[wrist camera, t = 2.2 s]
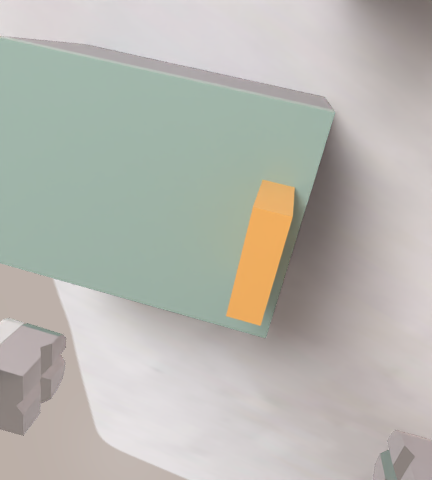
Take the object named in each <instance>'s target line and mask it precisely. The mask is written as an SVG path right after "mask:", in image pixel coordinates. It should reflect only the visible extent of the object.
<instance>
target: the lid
mask: <svg viewBox="0 0 432 480" xmlns="http://www.w3.org/2000/svg"><path fill="white" fill-rule="evenodd" d="M334 115H335V111H334V110H332V109H328V108H323V107H319V106H314V105H310V104H305V103H301V102H296V101H292V100H287V99H283V98H278V97H274V96H269V95H265V94H260V93H256V92H252V91H247V90H243V89H238V88H234V87H229V86H225V85H220V84H216V83H211V82H207V81H202V80H198V79H193V78H189V77H184V76H180V75H175V74H171V73H166V72H162V71H157V70H153V69H148V68H144V67H139V66H135V65H130V64H126V63H121V62H117V61H112V60H108V59H103V58H99V57H94V56H90V55H85V54H81V53H76V52H72V51H68V50H63V49H59V48H54V47H50V46H45V45H41V44H36V43H32V42H27V41H23V40H18V39H14V38H9V37H5V36H0V263H2V264H5V265H8V266H12V267H15V268H19V269H22V270H26V271H29V272H33V273H37V274H40V275H44V276H47V277H51V278H54V279H58V280H61V281H65V282H68V283H72V284H75V285H79V286H82V287H86V288H89V289H93V290H96V291H100V292H104V293H107V294H111V295H114V296H118V297H121V298H125V299H128V300H132V301H135V302H139V303H142V304H146V305H149V306H153V307H156V308H160V309H163V310H167V311H171V312H174V313H178V314H181V315H185V316H188V317H192V318H195V319H199V320H202V321H206V322H209V323H213V324H216V325H220V326H223V327H227V328H231V329H234V330H238V331H241V332H245V333H248V334H252V335H255V336H259V337H262V338H266V336H267V333H268V330H269V326H270V323H271V320H272V317H273V313H274V310H275V307H276V304H277V300H278V297H279V294H280V291H281V287H282V284H283V281H284V278H285V274H286V271H287V268H288V265H289V261H290V258H291V255H292V252H293V248H294V245H295V242H296V239H297V235H298V232H299V229H300V226H301V222H302V219H303V216H304V213H305V209H306V206H307V203H308V200H309V196H310V193H311V190H312V187H313V183H314V180H315V177H316V174H317V170H318V167H319V164H320V161H321V157H322V154H323V151H324V148H325V144H326V141H327V138H328V135H329V131H330V128H331V125H332V122H333V118H334Z"/></svg>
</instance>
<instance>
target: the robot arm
mask: <svg viewBox="0 0 432 480" xmlns="http://www.w3.org/2000/svg"><path fill="white" fill-rule="evenodd" d="M65 348H66V337H65V336H64V335H63V334H60V333H57V332H54V331H50V330H47V329H44V328H41V327H37V326H35V325H31V324H28V323H27V324H26V323H23V322H20V321H17V320H14V319H11V318H7V319H4V320H2V321H1V322H0V429H2V430H5V431H8V432H12V433H16V434H19V435H23V436H24V434H25V433H26V431H27V430H28V429H29V427H30V426H31V425H32V423H33V422H34V421H35V419H36V418H37V417H38V416H39V414H40V404H41V403H43V402H45V401H48V400H50V399H51V398H52V396H53V395H54V393H55V392H56V391H57V389H58V387H59V385H60V383H61V381H62V379H63V375H64V370H65V360H64V359H63V357H62V355H61V353H62V352H63V350H64V349H65ZM387 442H388V447H389V450H387V451H385V452H383V453H381V454H380V455H379V457H378V459H377V461H376V463H375V468H374V474H373V480H432V440H431V439H427V438H424V437H420V436H417V435H413V434H409V433H406V432H402V431H399V430H395V431H393V432H392V433H391V435H390V436H389V438H388V440H387Z"/></svg>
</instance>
